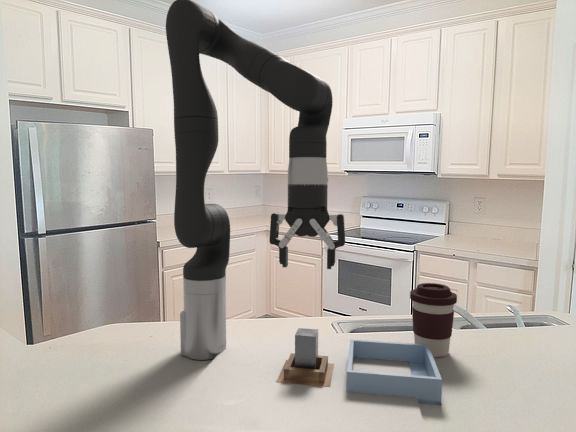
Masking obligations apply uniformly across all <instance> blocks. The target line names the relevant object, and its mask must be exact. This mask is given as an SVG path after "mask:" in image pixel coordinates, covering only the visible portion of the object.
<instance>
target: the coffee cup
mask: <svg viewBox="0 0 576 432" xmlns="http://www.w3.org/2000/svg"><path fill="white" fill-rule="evenodd" d="M409 299H410V300H411V301H412V307H411V311H412V312H411V314H412V316H411V317H412V331H413V338H414V339H413V340H414V344H427V345H428V346H429V348H430V351H431V353H432V356H433V358H441V357H442V358H443V357H446V356H448V354H449V352H450V344H451V337H452V334H453V327H454V326H453V325H454V315H455V311H454V305H456V304H457V302H458V294H456V293H455V292H453V291H451V288H450V287H449V286H448V285H446V284H441V283H433V282H424V283H423V282H422V283H419V284H417V285H416V288H414V289H411V290H410V292H409Z"/></svg>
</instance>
